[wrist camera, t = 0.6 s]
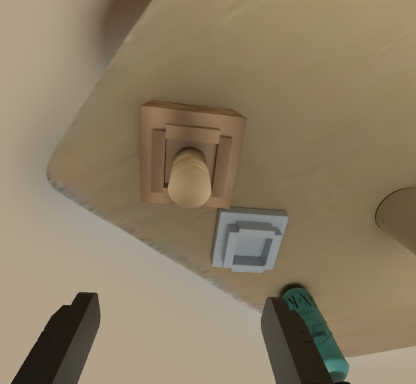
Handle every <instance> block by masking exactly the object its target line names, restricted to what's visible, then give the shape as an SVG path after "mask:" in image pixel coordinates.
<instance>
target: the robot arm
mask: <svg viewBox="0 0 416 384" xmlns="http://www.w3.org/2000/svg"><path fill="white" fill-rule="evenodd" d="M376 222H377V225H378V226H379V227H380V228H381V229H382V230H384V231H385V232H386V233H388V234H389V235H390V236H392V237H393V238H394V239H395V240H397V241H398V242H399V243H401V244H402V245H403V246H404V247H406V248H407V249H408V250H410V251H411V252H412V253H414V254H415V255H416V189H413V188H408V189H402V190H399V191H397V192H395V193H393V194H391V195H390V196H388V197H387V198H386V199H385V200H384V201H383V202H382V203H381V205H380V206H379V208H378V210H377V213H376ZM99 324H100V308H99V300H98V294H97V293H88V292H79V293H78V294H77V295H76V297H75V299H74V300H73V302H72V304H71V305H63V306H62V307H61V308H60V309H59V310H58V311H57V312H56V313H55V314H53V315H52V316H51V318H50V320H49V321H48V323H47V325H46V326H45V328H44V331H42V333H41V335H40V336H39V338H38V341H37V342H36V343H35V345H34V347H33V348H32V350H31V351H30V353H29V355H28V356H27V358H26V360H25V361H24V363H23V365H22V366H21V368H20V370H19V371H18V373H17V375H16V376H15V378H14V379H13V381H12V383H11V384H77V383H78V380H79V378H80V375H81V373H82V370H83V367H84V365H85V362H86V360H87V357H88V354H89V352H90V349H91V347H92V344H93V341H94V339H95V336H96V334H97V331H98V328H99ZM261 330H262V334H263V337H264V341H265V345H266V348H267V352H268V355H269V359H270V363H271V366H272V370H273V373H274V376H275V380H276V384H334V382H333V380H332V378H331V376H330V374H329V372H328V370H327V368H326V366H325V363H324V361H323V359H322V357H321V355H320V353H319V351H318V349H317V346H316V344H314V340H313V338H312V336H311V334H310V333H309V329H308V327H307V325H306V323H305V321H304V319H303V318H302V317H301V316H300V315H299V314H298V313H297V311H296V310H289V307H288V305H287V303H286V300H285V299H284V298H281V297H268V298H267V300H266V303H265V306H264V310H263V313H262V317H261Z"/></svg>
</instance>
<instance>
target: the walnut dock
mask: <svg viewBox="0 0 416 384" xmlns="http://www.w3.org/2000/svg"><path fill="white" fill-rule="evenodd" d="M245 123H246V117H244V116H242V115H241V114H239V113H238V112H236V111H234V110H225V109H217V108H209V107H200V106H192V105H184V104H176V103H167V102H159V101H150V102H147V103H145V104H143V105H141V202H148V203H162V204H175V203H174V202H173V201H172V199H171V198H170V196H169V193H168V184H169V180H170V175H171V171H172V167H173V162H174V158H175V155H176V154H177V152H178V151H179V150H181V149H182V148H185V147H195V148H197V149H199V150H201V151H202V152H203V154H204V155H205V158H206V162H207V167H208V172H209V178H210V183H211V194H210V197H209V198H208V200H207V201H206V202H205V203H204V204H203V205H201V206H203V207H216V208H230V206H231V201H232V195H233V190H234V184H235V179H236V173H237V168H238V162H239V157H240V151H241V146H242V140H243V135H244V129H245ZM176 205H177V204H176Z"/></svg>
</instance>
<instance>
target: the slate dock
mask: <svg viewBox="0 0 416 384" xmlns="http://www.w3.org/2000/svg"><path fill="white" fill-rule="evenodd" d="M288 219H289V216H288V215H287V213H286V212H285V211H278V210H264V209H251V208H237V207H230V208H219V213H218V220H217V226H216V232H215V238H214V245H213V251H212V257H211V263H212V267H223V268H230V270H231V271H237V272H260V273H263V272H264V269H265V270H273V268H274V265H275V261H276V258H277V255H278V251H279V248H280V245H281V242H282V238H283V235H284V232H285V229H286V225H287V222H288Z"/></svg>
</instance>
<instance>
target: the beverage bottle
mask: <svg viewBox="0 0 416 384" xmlns="http://www.w3.org/2000/svg"><path fill="white" fill-rule="evenodd" d="M282 298H284V299H285V300H286V303H287V305H288V307H289V310H296V311H297V313H298V314H299V315H300V316H301V317H302V318H303V319H304V321H305V323H306V325H307V327H308V329H309V333H310V334H311V336H312V338H313V340H314V344H316V346H317V349H318V351H319V353H320V355H321V357H322V359H323V361H324V363H325V366H326V368H327V370H328V372H329V374H330V376H331V378H332V380H333V382H334V384H350V383H349V382H345V381H344V380H345V378H346V376H347V374H348V370H349V365H348V363H347V361H346V360H345V358H344V356H343V354H342V353H341V351H340V349H339V347H338V345H337V343H336V341H335V340H334V338H333V336H332V334H331V333H332V332H330V330H329V328H328V324H326V321H324V317H322V316H323V315H322V314H321V312H319V311H320V310H318V309H319V308H317V307H318V306H316V304H315V303H314V302H315V301H313V300H314V299H313V297H312V296H311V295H310V294H309V292H308V291H307V290H305V289H303V288H293V289H290V290H288V291H287V292H286V293H284V295H283V296H282Z"/></svg>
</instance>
